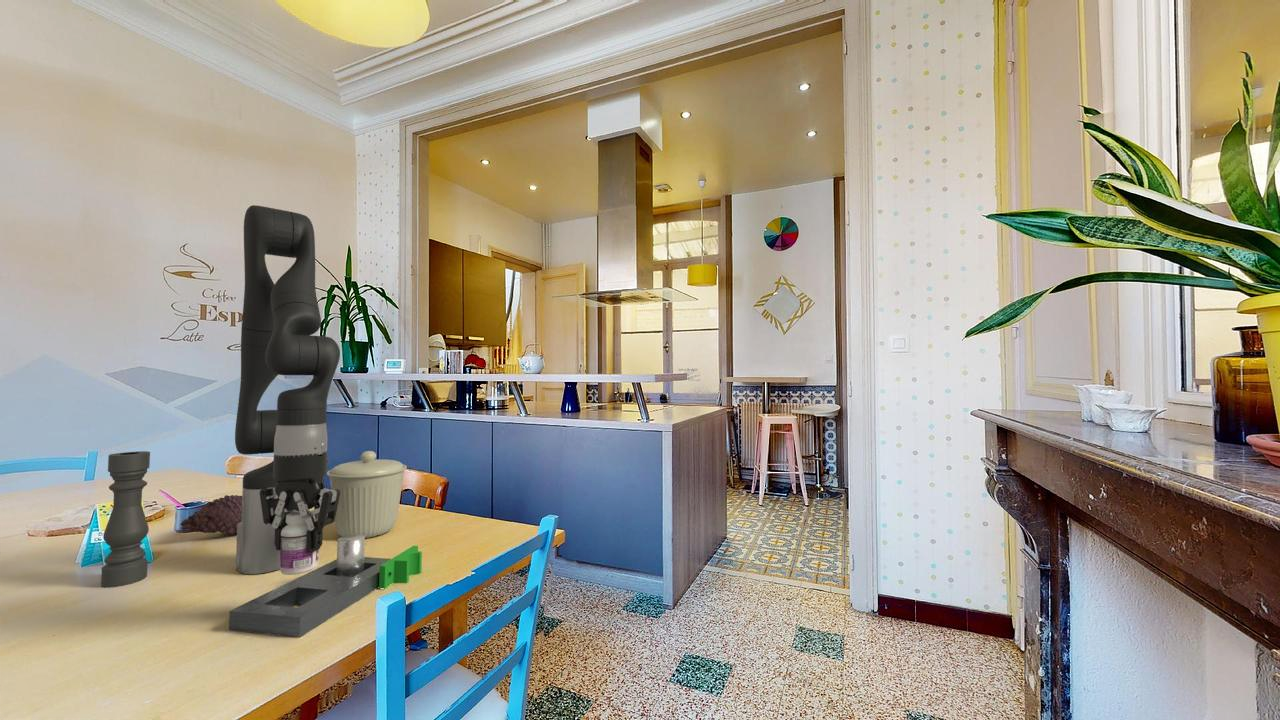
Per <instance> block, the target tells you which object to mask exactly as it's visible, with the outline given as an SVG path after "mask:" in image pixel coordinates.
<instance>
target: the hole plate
mask: <svg viewBox="0 0 1280 720" xmlns="http://www.w3.org/2000/svg"><path fill="white" fill-rule="evenodd" d="M391 559H392V558H385V557H384V558H383V557H371V556H364V571H363V572H361V573H359V574H357V575H356V576H354V577H346V576H336V574H337V558H336V559H335V560H332V561H330V562H328V563H326V564H324V565H321V566H320V567H316V568H314V569H313V570H310V571H308V572H306V573H305V574H303V575H301V576H299V577H296V578H294V579H293V580H290V581H288V582H287V583H284V584H282V585H281V586H278V587H276V588H274V589H272V590H270V591H268V592H266V593H264V594H261V595H260V596H257V597H255V598H253V599H251V600H249V601H247V602H245V603H243V604H241V605H238V606H237V607H235V608H232V609H230V610H229V612H228V613H229V618H228V620H229V621H228V630H229V631H237V632H247V633H258V634H266V635H275V636H284V637H293V638H294V637H295V638H301V637H303V636H304V635H305V634H307V633H309V632H311V631H312V630H314V629H316V628H317V627H318V626H320V625H322V624H323V623H325V622H327V621H328V620H330V619H332V618H333V617H335V616H336V615H338V614H339V613H341V612H343V611H344V610H346V609H348V608H349V607H350V606H352V605H353V604H355V603H357V602H358V601H360V600H362V599H364V598H365V597H366V596H368V595H369V594H371V593H373V592H374V590H375V589H376V590H377V588H378V587H379V572H380V566H381V565H382V564H384V563H386V562H387V561H389V560H391ZM378 589H379V588H378ZM376 590H375V591H376ZM372 591H373V592H372ZM296 605H299V606H298V607H296ZM294 606H295V607H294Z"/></svg>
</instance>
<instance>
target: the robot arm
mask: <svg viewBox="0 0 1280 720" xmlns="http://www.w3.org/2000/svg"><path fill="white" fill-rule="evenodd" d="M314 230H315V229H314V226H313V223H312V221H311V219H310V218H309V217H308V216H307V215H304V214H302V213H298V212H294V211H289V210H283V209H279V208H273V207H269V206H263V205H262V206H261V205H254V204H253V205H250V206H249V207H247V209H246V211H245V214H244V220H243V254H244V255H243V259H244V294H243V305H242V307H243V308H242V316H241V317H242V319H241V329H240V330H241V332H240V333H241V335H240V384H239V385H240V386H239V393H238V402H237V403H238V404H237V412H236V413H237V414H236V419H235V420H236V421H235V429H234V444H235V448H236V451H237V452H238V453H239V454H241V455H244V456H245V455H247V456H249V455H260V454H261V455H263V454H273V460H272V461H271V462H270V463H268V464H265V465H263V466H260V467H258V468H255V469H252V470H250V471H248V472H246V473H245V474H244V475H243V477H242V491H241V492H242V495H241V496H242V522H240V523H239V524H238V525H237V533H236V551H235V552H236V553H235V554H236V556H235V557H236V558H235V570H238V571H239V572H240V573H241V574H245V575H246V574H247V575H258V574H263V573H269V572H270V573H271V572H274V571H278V570H280V549H281V531H282V529H283V528H284V527H285V526H287V525H288V524H287V523H286V515H287V514H288V513H291V512H295V511H300V514H301V517H302V518H304V519H305V521H306V524H307V527H308V529H309V530H308V531H307V543H306V551H307V552H311V553H312V552H314V551H317V550H318V551H319V550H320V549H321V547H322V545H323V535H324V533H323V530H324V527H325V526H328V525H331V524H333V523H335V522H334V521H335V516H336V511H337V507H338V502H339V497H340V490H339V489H335V490H331V488H330V489H329V488H326V486H325V484H324V478H325V476H326V475H327V472H328V471H327V468H328V467H327V465H328V430H327V429H328V428H327V409H328V408H327V403H328V396H329V392H330V388H331V384H332V381H333V378H334V376H335V374H336V370H337V368H338V366H339V362H340V358H341V357H340V356H341V350H340V346H339V345H338V343H337V341H336V340H335V339H333V338H332V337H329V336H325V335H314V334H316V333H317V332H318V331H319V330H320V328H321V326H322V317H321V314H320V313H321V311H320V306H319V303H318V298H317V292H316V243H315V242H316V238H315V231H314ZM266 255H268V256H275V257H283V258H291V259H295V261H294V263H293V264H292V265H291V266H290V267H289V268H288V270H286V271H285V272H284V273H283V274H282V275H281V276H280V277H279V278H278V279H277V281H276V282H275V283H274V281H273V279H272V278H271V275H270V273H269V271H268V267H267V263H266ZM278 376H312V378H311V381H310V382H309V383H308V385H305V386H303V387H298V388H293V389H287V390H283V391H282V392H280V393H279V394H278V396H277V399H276V400H277V401H276V403H277V404H276V409H262V410H258V406H259V404H260V401H261V399H262V397H263V396H264V394H265V392H266V390H268V388H269V386H270V385H271V383H272V382H273V381H274V380H275V379H276V378H277V377H278ZM310 510H312V511H310ZM313 515H314V516H315V518H314V517H313Z"/></svg>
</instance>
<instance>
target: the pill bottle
mask: <svg viewBox="0 0 1280 720" xmlns="http://www.w3.org/2000/svg"><path fill="white" fill-rule="evenodd" d="M309 510H310V511H312V510H313V509H309ZM313 517H314V519H315V516H314V515H313ZM286 523H287V524H288V525H287V526H285V527H284V528H283V529H282V531H281V549H280V569H279V571H280V573H281V574H282V575H286V576H293V575H295V576H296V575H301V574H303V573H305V574H306V573H308V572H311V571H313V570H315V569H317V568H318V565H319V550H317V551H314V552H312V553H311V552H307V551H306V543H307V531H308V530H309V529H308V527H307V524H306V521H305V519H304V518H302V517H301V514H300V511H295V512H291V513H288V514H287V515H286Z"/></svg>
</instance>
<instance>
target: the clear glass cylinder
mask: <svg viewBox="0 0 1280 720" xmlns="http://www.w3.org/2000/svg"><path fill="white" fill-rule="evenodd" d="M365 540H366V538H365V535H363V534H352V535H346V536H343V537H341V536H339V538H337V540H336V541H337V545H336V547H337V548H336V559H337V574H336V576H346V577H354V576H356V575H357V574H359V573H361V572H363V571H364V557H365V546H366V543H365Z"/></svg>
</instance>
